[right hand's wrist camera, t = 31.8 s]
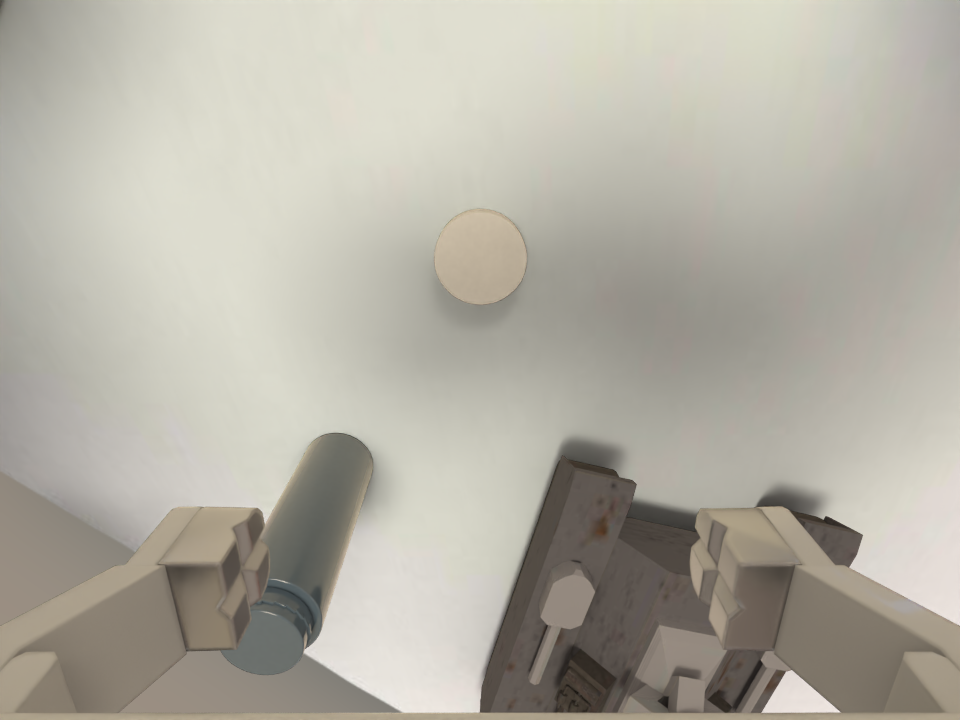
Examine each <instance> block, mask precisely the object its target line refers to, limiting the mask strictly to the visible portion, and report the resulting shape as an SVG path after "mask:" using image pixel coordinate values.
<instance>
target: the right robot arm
mask: <svg viewBox="0 0 960 720" xmlns="http://www.w3.org/2000/svg"><path fill="white" fill-rule="evenodd" d="M264 528H265V523H264V518H263V514H262V511H260V510H259V509H258V508H239V507H177V508H174V509H172V510H171V511H170V512H169V513H168V514H167V515H166V517H165V518H164V519H163V520H162V521H161V523H160V524H159V525H158V526H157V527H156V529H155V530H154V531H153V532H152V533H151V534H150V536H149V537H148V538H147V539H146V540H145V542H144V543H143V544H142V545H141V546H140V548H139V549H138V550H137V551H136V552H135V553H134V555H133V556H132V557H131V558H130V559H129V561H128V562H127V563H126V564H125V565H115V566H113V567H112V568H110V569H108V570H106V571H104V572H102V573H100V574H98V575H96V576H94V577H92V578H91V579H89V580H87V581H85V582H83V583H81V584H79V585H77V586H75V587H73V588H71V589H70V590H68V591H66V592H64V593H62V594H60V595H58V596H56V597H54V598H52V599H51V600H49V601H47V602H45V603H43V604H41V605H39V606H37V607H35V608H33V609H31V610H30V611H28V612H26V613H24V614H22V615H20V616H18V617H16V618H14V619H13V620H10V621H9V622H7V623H5V624H3V625H1V626H0V720H960V626H959V625H957V624H955V623H953V622H951V621H949V620H947V619H945V618H944V617H942V616H940V615H938V614H936V613H934V612H932V611H930V610H928V609H926V608H925V607H923V606H921V605H919V604H917V603H915V602H913V601H911V600H909V599H907V598H905V597H904V596H902V595H900V594H898V593H896V592H894V591H892V590H890V589H888V588H886V587H885V586H883V585H881V584H879V583H877V582H875V581H873V580H871V579H869V578H867V577H866V576H864V575H862V574H860V573H858V572H856V571H854V570H852V569H850V568H848V567H847V566H845V565H835V564H834V563H833V562H832V561H831V559H830V558H829V557H828V556H827V555H826V554H825V552H824V551H823V550H822V549H821V548H820V546H819V545H818V544H817V543H816V542H815V540H814V539H813V538H812V537H811V536H810V535H809V533H808V532H807V531H806V530H805V529H804V527H803V526H802V525H801V524H800V523H799V522H798V520H797V519H796V518H795V517H794V516H793V514H792V513H791V512H790V511H789V510H788V509H786V508H784V507H782V506H777V507H755V508H702V509H700V510H699V512H698V514H697V517H696V523H695V528H696V530H697V532H698V534H699V536H700V539H699V540H698V541H697V542H696V543H695V544H694V545H693V546H692V547H691V555H690V573H691V579H692V583H693V587H694V589H695V592H696V594H697V596H698V598H699V600H700V601H702V602H703V603H705V604H706V605H707V606H709V607H710V612H709V618H708V619H709V621H710V623H711V626H712V628H713V630H714V632H715V634H716V636H717V638H718V640H719V642H720V644H721V646H722V648H723V650H746V651H774V653H773V654H774V655H775V656H777V657H778V658H779V659H780V660H781V661H782V662H784V663H785V664H786V665H787V666H788V667H789V668H790V669H792V670H793V671H794V672H795V673H796V674H797V675H799V676H800V677H801V678H802V679H803V680H804V681H805V682H807V683H808V684H809V685H810V686H811V687H812V688H814V689H815V690H816V691H817V692H818V693H819V694H821V695H822V696H823V697H824V698H825V699H826V700H827V701H829V702H830V703H831V704H832V705H833V706H834V707H836V708H837V709H838V710H839V711H840V712H841V713H119V712H120V711H121V710H122V709H123V708H125V707H126V706H127V705H128V704H129V703H130V702H132V701H133V700H134V699H135V698H136V697H137V696H139V695H140V694H141V693H142V692H143V691H144V690H145V689H147V688H148V687H149V686H150V685H151V684H152V683H154V682H155V681H156V680H157V679H158V678H159V677H161V676H162V675H163V674H164V673H165V672H166V671H167V670H169V669H170V668H171V667H172V666H173V665H174V664H175V663H177V662H178V661H179V660H180V659H181V658H183V657H184V656H185V655H186V651H212V650H237V648H238V646H239V644H240V642H241V640H242V638H243V636H244V634H245V632H246V630H247V628H248V626H249V624H250V621H251V619H252V618H251V612H250V607H251V606H253V605H254V604H255V603H257V602H258V601H260V600H261V598H262V596H263V594H264V592H265V589H266V587H267V583H268V578H269V573H270V553H269V547H268V546H267V545H266V544H265V543H264V542H263V541H262V540H261V539H260V536H261V534H262V532H263V530H264Z"/></svg>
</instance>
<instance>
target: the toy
mask: <svg viewBox="0 0 960 720" xmlns="http://www.w3.org/2000/svg"><path fill="white" fill-rule="evenodd" d="M636 485H637V484H636V483H635V482H634V481H633V480H629V479H625V478H620V477H619V476H618V474H617V472H616V471H614V470H612V469H608V468H603V467H599V466H594V465H590V464H585V463H581V462H576V461H572V460H567V459H566V457H565V456H562V457H561V460H560V461H559V463H558V465H557V468H556V471H555V474H554V476H553V479H552V482H551V485H550V488H549V491H548V494H547V497H546V500H545V503H544V506H543V508H542V511H541V514H540V517H539V520H538V523H537V526H536V529H535V532H534V535H533V538H532V540H531V543H530V546H529V549H528V552H527V555H526V558H525V561H524V564H523V567H522V569H521V572H520V575H519V578H518V581H517V584H516V587H515V590H514V593H513V596H512V599H511V601H510V604H509V607H508V610H507V613H506V616H505V619H504V622H503V625H502V628H501V631H500V633H499V636H498V639H497V642H496V645H495V648H494V651H493V654H492V657H491V660H490V662H489V665H488V668H487V673H486V676H485V679H484V682H483V685H482V691H481V700H480V713H761V712H762V710H763V709H764V707H765V705H766V704H767V702H768V701H769V699H770V697H771V696H772V694H773V692H774V691H775V689H776V687H777V686H778V684H779V682H780V681H781V679H782V677H783V676H784V674H785V672H786V671H790V670H792V669H790V668H789V667H788V666H787V665H786V664H785V663H784V662H782V661H781V660H780V659H779V658H778V657H777V656H775V655H774V654H773V653H774V651H746V650H723V648H722V646H721V644H720V642H719V640H718V638H717V636H716V634H715V632H714V630H713V628H712V626H711V623H710V621H709V619H708V618H709V612H710V607H709V606H707V605H706V604H705V603H703V602H702V601H700V600H699V598H698V596H697V594H696V592H695V589H694V587H693V583H692V579H691V573H690V555H691V547H692V546H693V545H694V544H695V543H696V542H697V541H698V540H699V539H700V536H699V534H698V532H694V531H689V530H684V529H680V528H675V527H670V526H666V525H661V524H656V523H652V522H647V521H642V520H638V519H633V518H628V517H626V516H627V513H628V511H629V508H630V506H631V503H632V500H633V496H634V492H635V488H636ZM763 507H771V506H763ZM790 512H791V513H792V514H793V516H794V517H795V518H796V519H797V520H798V522H799V523H800V524H801V525H802V526H803V527H804V529H805V530H806V531H807V532H808V533H809V535H810V536H811V537H812V538H813V539H814V540H815V542H816V543H817V544H818V545H819V546H820V548H821V549H822V550H823V551H824V552H825V554H826V555H827V556H828V557H829V558H830V559H831V561H832V562H833V563H834V564H835V565H845V566H847V567H848V568H849V567H850V565H851V563H852V562H853V560H854V558H855V557H856V555H857V552H858V549H859V546H860V543H861V540H862V536H863V535H862V534H860V533H858V532H856V531H855V530H853V529H851V528H849V527H847V526H845V525H843V524H841V523H839V522H837V521H835V520H833V519H832V518H830V517H827V516H826V517H825V518H824V520H822V519H820V518H818V517H816V516H811V515H807V514H802V513H798V512H793V511H790Z"/></svg>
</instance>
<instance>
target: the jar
mask: <svg viewBox="0 0 960 720" xmlns="http://www.w3.org/2000/svg"><path fill="white" fill-rule="evenodd" d="M372 471H373V460H372V457H371V454H370V452H369V451H368V449H367V448H366V447H365V445H364V444H363V443H361V442H360V441H359V440H357V439H356V438H354V437H352V436H349V435H346V434H340V433H332V434H326V435H323V436H321V437H319V438H317V439H315V440H314V441H313V442H312V443H311V444H310V445H309V446H308V448H307V450H306V452H305V453H304V455H303V457H302V459H301V461H300V462H299V464H298V466H297V468H296V470H295V471H294V473H293V475H292V477H291V479H290V480H289V482H288V484H287V486H286V488H285V489H284V491H283V493H282V495H281V496H280V498H279V500H278V502H277V504H276V505H275V507H274V509H273V511H272V513H271V514H270V516H269V518H268V520H267V522H266V523H265V528H264V530H263V532H262V534H261V536H260V539H261V540H262V541H263V542H264V543H265V544H266V545H267V546H268V547H269V553H270V573H269V578H268V583H267V587H266V589H265V592H264V594H263V596H262V598H261V600H260V601H258V602H257V603H255V604H254V605H253V606H251V607H250V612H251V618H252V619H251V621H250V624H249V626H248V628H247V630H246V632H245V634H244V636H243V638H242V640H241V642H240V644H239V646H238V648H237V650H220V651H221V653H222V654H223V655H224V657H225V658H226V659H227V660H228V661H229V662H230V663H231V664H233V665H234V666H236V667H238V668H240V669H241V670H244V671H246V672H250V673H254V674H259V675H274V674H279V673H282V672H285V671H287V670H289V669H291V668H292V667H294V666H295V665H296V664H297V663H298V662H299V661H300V659H301V658H302V655H303V653H304V650H305V649H306V648H307V647H309V646H310V645H311V644H312V643H313V642H314V641H315V640H316V639H317V637H318V636H319V634H320V632H321V630H322V626H323V623H324V620H325V617H326V614H327V611H328V608H329V605H330V602H331V599H332V595H333V592H334V589H335V586H336V583H337V580H338V577H339V574H340V571H341V568H342V565H343V561H344V558H345V555H346V552H347V549H348V546H349V543H350V540H351V537H352V534H353V530H354V527H355V524H356V521H357V518H358V515H359V512H360V509H361V506H362V503H363V500H364V496H365V493H366V490H367V487H368V484H369V481H370V478H371V475H372Z"/></svg>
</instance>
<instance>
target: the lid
mask: <svg viewBox="0 0 960 720" xmlns="http://www.w3.org/2000/svg"><path fill="white" fill-rule="evenodd" d="M434 264H435V270H436V273H437V276H438V278H439V280H440V282H441V283H442V285H443V286H444V288H445V289H446V290H447V291H448V292H449V293H450V294H451V295H453V296H454V297H456V298H457V299H459V300H461V301H464V302H466V303H470V304H476V305H485V304H491V303H495V302H497V301H500V300H502V299H504V298H506V297H507V296H508V295H510V294H511V293H512V292H513V291H514V290H515V289H516V288H517V286H518V285H519V284H520V282H521V280H522V278H523V276H524V273H525V270H526V265H527V252H526V247H525V243H524V241H523V238H522V236H521V234H520V232H519V230H518V229H517V227H516V226H515V225H514V224H513V222H512V221H511V220H509V219H508V218H507V217H506V216H504V215H502V214H500V213H498V212H496V211H492V210H488V209H473V210H469V211H465V212H463V213H461V214H459V215H457V216H456V217H454V218H453V219H452V220H450V222H449V223H448V224H447V225H446V226H445V227H444V229H443V230H442V232H441V234H440V236H439V239H438V241H437V244H436V247H435V253H434Z"/></svg>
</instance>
